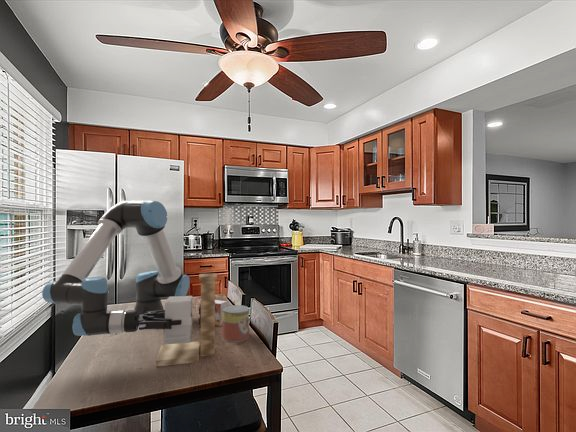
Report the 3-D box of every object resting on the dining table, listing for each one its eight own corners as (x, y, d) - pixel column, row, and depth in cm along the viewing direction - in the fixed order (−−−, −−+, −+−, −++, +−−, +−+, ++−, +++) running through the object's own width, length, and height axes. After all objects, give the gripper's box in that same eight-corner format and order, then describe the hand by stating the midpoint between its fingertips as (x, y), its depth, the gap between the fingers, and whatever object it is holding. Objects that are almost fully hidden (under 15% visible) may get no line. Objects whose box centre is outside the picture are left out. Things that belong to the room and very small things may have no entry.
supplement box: (190, 343, 112) (190, 301, 112) (163, 345, 110) (164, 302, 110) (192, 334, 121) (193, 295, 121) (168, 335, 119) (168, 296, 119)
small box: (206, 324, 150) (206, 301, 150) (213, 320, 156) (213, 299, 156) (220, 326, 147) (220, 303, 147) (227, 322, 153) (227, 300, 153)
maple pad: (156, 366, 107) (156, 360, 107) (161, 349, 120) (161, 344, 120) (198, 361, 111) (198, 356, 111) (199, 346, 124) (199, 341, 124)
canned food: (236, 344, 126) (237, 314, 127) (216, 338, 132) (216, 309, 132) (254, 335, 136) (254, 307, 136) (234, 330, 142) (234, 303, 142)
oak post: (198, 357, 114) (199, 276, 114) (198, 350, 120) (199, 273, 121) (216, 355, 116) (217, 276, 116) (215, 348, 122) (216, 273, 122)
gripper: (132, 322, 121) (192, 317, 127) (117, 343, 100) (190, 337, 106) (132, 302, 121) (193, 299, 127) (117, 320, 100) (191, 315, 106)
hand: (191, 316), depth 117 cm, fingers closed on supplement box, 9 cm apart
